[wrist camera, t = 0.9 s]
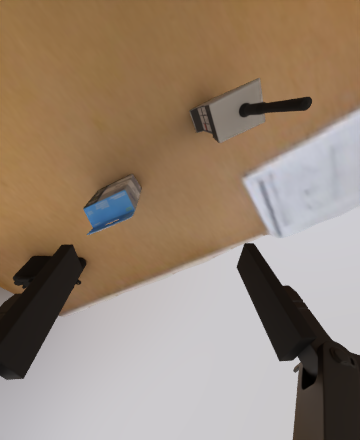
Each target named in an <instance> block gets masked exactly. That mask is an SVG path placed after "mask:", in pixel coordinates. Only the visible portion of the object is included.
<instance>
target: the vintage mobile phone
mask: <svg viewBox="0 0 360 440" xmlns="http://www.w3.org/2000/svg"><path fill="white" fill-rule="evenodd" d="M311 104H312V99H311V98H310V97H303V98H297V99H291V100H284V101H278V102H271V103H265V102H263V98H262V90H261V82H260V78H258V79H255V80H253V81H251V82H248V83H246V84H244V85H242V86H239V87H237V88H235V89H233V90H230V91H228V92H226V93H224V94H221V95H219V96H217V97H215V98H213V99H211V100H209V101H207V102H205V103H203V104H201V105H199V106H197V107H195V108H193V109H192V110H190V111H189V112H190V115H191V118H192V121H193V124H194V127H195V130H196V132H197V133H198V132H202V131H205V132H208V133H211V134H213V138H214V139H215V140H216V141H217V142H219V143H221V142H223V141H225V140H228V139H230V138H232V137H234V136H236V135H238V134H240V133H243V132H245V131H247V130H249V129H251V128H253V127H255V126H257V125H260V124H262V123H264V122H265V114H264V113H270V112H287V111H304V110H307V109H308V108H309V107H310V106H311Z"/></svg>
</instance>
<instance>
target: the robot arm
mask: <svg viewBox="0 0 360 440" xmlns="http://www.w3.org/2000/svg"><path fill="white" fill-rule="evenodd" d="M237 269H238V271H239V273H240V275H241V278H242V280H243V282H244V284H245V286H246V289H247V291H248V293H249V295H250V297H251V300H252V302H253V304H254V306H255V308H256V311H257V313H258V315H259V317H260V319H261V322H262V324H263V326H264V328H265V330H266V333H267V335H268V337H269V339H270V341H271V343H272V346H273V348H274V350H275V352H276V354H277V357H278V359H279V361H291V360H294V359H295V358H296V357H297V356H298V358H299V360H300V361H301V362H300V363H299V364H298V365H297V366H296V367H295V368H294V372H297V371H298V370H299V375H298V386H297V398H296V409H295V421H294V433H293V440H360V355H357V354H354V353H351V352H349V351H348V350H347V349H346V348H345V347H343V346H342V345H341V344H339V343H337V342H334V341H333V340H332V339H331V338H330V337H329V336H328V334H327V333H326V332H325V330H324V329H323V328H322V326H321V325H320V323H319V322H318V321H317V319H316V318H315V317H314V315H313V314H312V313H311V311H310V310H309V309H308V307H307V306H306V304H305V303H304V302H303V300H302V299H301V298H300V296H299V295H298V293H297V292H296V291H294V290H293V289H292V288H291V287H290V286H282V284H281V283H280V282H279V280H278V279H277V277H276V276H275V274H274V273H273V271H272V270H271V268H270V267H269V265H268V264H267V262H266V261H265V259H264V258H263V256H262V255H261V253H260V252H259V250H258V249H257V247H256V246H255V245H254V244H253V243H245V244H244V247H243V250H242V253H241V256H240V259H239V262H238V265H237ZM82 271H83V269H82V266H81V264H80V261H79V259H78V256H77V254H76V251H75V249H74V246H73V245H61V246H60V248H59V249H58V250H57V251H56V252H55V254H54V255H53V256H52V257H51V259H50V260H49V261H48V262H47V263H46V265H45V266H44V267H43V268H42V270H41V271H40V272H39V273H38V274H37V276H36V277H35V278H34V279H33V281H32V282H31V283H30V284H29V286H28V287H27V288H26V289H25V290H24V292H23V293H22V294H14V295H13V296H12V297H11V298H9V299H8V300H7V301H5V302H4V303H3V304H2V305H1V307H0V376H1V377H3V378H5V379H7V380H8V379H23V378H24V377H25V375H26V373H27V371H28V370H29V368H30V366H31V364H32V362H33V360H34V359H35V357H36V355H37V353H38V351H39V349H40V348H41V346H42V344H43V342H44V340H45V338H46V337H47V335H48V333H49V331H50V329H51V328H52V326H53V324H54V322H55V320H56V318H57V317H58V315H59V313H60V311H61V309H62V307H63V306H64V304H65V302H66V300H67V298H68V296H69V295H70V293H71V291H72V289H73V287H74V285H75V284H76V282H77V280H78V278H79V276H80V274H81V273H82Z"/></svg>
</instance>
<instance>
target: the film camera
mask: <svg viewBox="0 0 360 440" xmlns="http://www.w3.org/2000/svg"><path fill="white" fill-rule="evenodd" d="M51 257H52V256H34V257H32V258H30V260H29V261H28V262H27V263H26V264H25V265H24V266H23V267H22V268H21V269H20V270H19V271H18V272H17V273H16V274H15V276H14V277H13V280H14V281H15V282H14V284H15V285H18V286H20V285H23V287H22V288H23V289H25V288H26V287H28V286H29V284H30V283H31V282H32V281H33V279H34V278H35V277H36V276H37V274H38V273H39V272H40V271H41V270H42V268H43V267H44V266H45V265H46V263H47V262H48V261H49V260H50V259H51ZM78 259H79V261H80V264H81V266H82V269H84V267H85V266H86V261H85V260H84V259H83V258H78ZM78 283H79V284H81V281H79V280H77V282H76V284H77V285H79V284H78ZM73 288H74V287H73Z"/></svg>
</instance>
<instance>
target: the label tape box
mask: <svg viewBox="0 0 360 440" xmlns="http://www.w3.org/2000/svg"><path fill="white" fill-rule="evenodd" d="M141 189H142V188H141V186H140V185H139V183H138V182H137V180H136V179H135V177H134V175H133V174H131V175H129V176H127V177H125V178H123V179H121V180H119V181H117V182H115V183H113V184H110V185H108V186H106V187H104V188H102V189H100V190H98V191H97V193H96V194H95V195H94V196H93V197H92V198H91V200H90V201H89V202H88V203H87V204H86V206H85V207H84V208H83V209H84V211H85V213H86V215H87V217H88V219H89V221H90V223H91V225H92V227H93V229H92V230H91V231H90V232H89V233H88V234H87V235H90V234H93V233H95V232H98V231H100V230H103V229H105V228H108V227H110V226H113V225H115V224H117V223H120V222H122V221H125V220H127V219H129V218H131V217H132V216H133V214H134V212H135V210H136V206H137V203H138V200H139V196H140V192H141ZM117 219H119V220H117ZM115 220H117V221H115ZM113 221H115V222H113ZM110 222H113V223H111V224H108V223H110ZM106 224H107V225H106Z"/></svg>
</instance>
